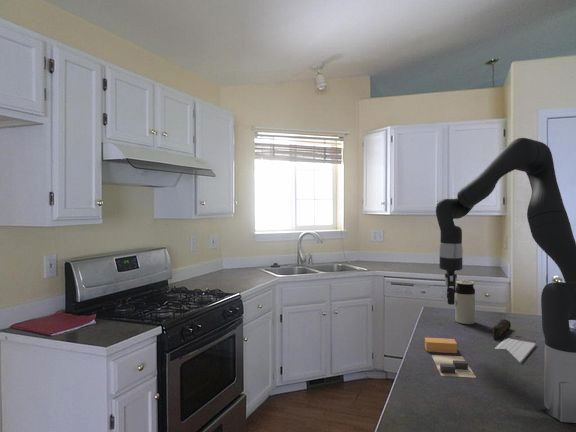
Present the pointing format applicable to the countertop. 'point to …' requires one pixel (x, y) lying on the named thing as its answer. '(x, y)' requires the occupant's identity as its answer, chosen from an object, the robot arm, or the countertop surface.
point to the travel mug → (465, 302)
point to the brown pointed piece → (501, 328)
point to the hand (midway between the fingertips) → (450, 301)
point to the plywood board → (449, 360)
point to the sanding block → (440, 345)
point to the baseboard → (516, 347)
